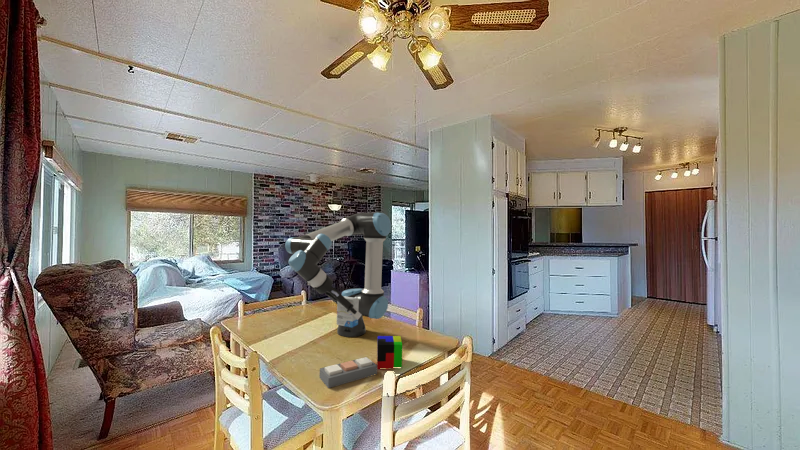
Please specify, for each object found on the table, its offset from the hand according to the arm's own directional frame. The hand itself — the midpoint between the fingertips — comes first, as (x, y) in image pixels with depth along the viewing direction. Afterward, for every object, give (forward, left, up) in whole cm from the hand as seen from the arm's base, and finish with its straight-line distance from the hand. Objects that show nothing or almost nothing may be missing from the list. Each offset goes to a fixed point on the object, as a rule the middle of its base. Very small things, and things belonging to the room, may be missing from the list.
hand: (354, 314), depth 139 cm
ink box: (+3, 0, -4) cm, 5 cm away
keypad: (+9, +15, -19) cm, 26 cm away
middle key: (+9, +15, -17) cm, 24 cm away
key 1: (+15, +15, -17) cm, 27 cm away
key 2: (+3, +15, -17) cm, 23 cm away
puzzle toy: (-10, +14, -19) cm, 26 cm away
